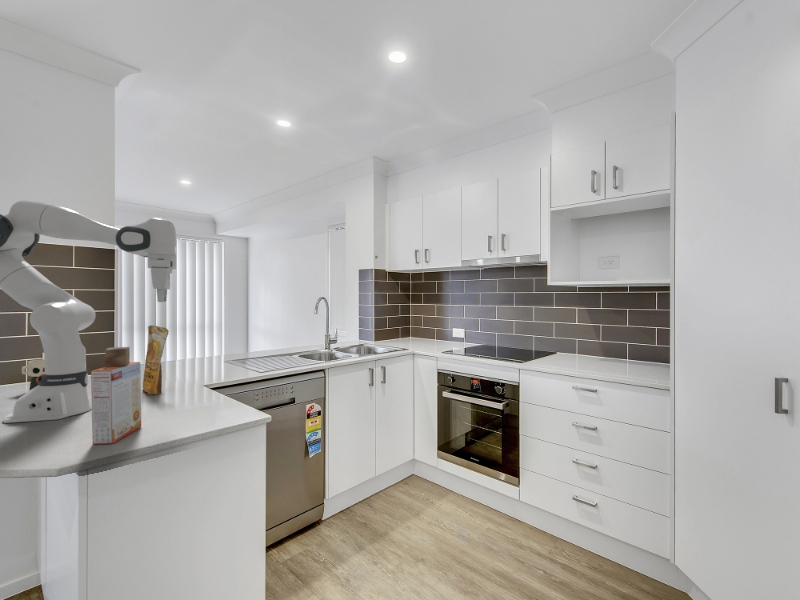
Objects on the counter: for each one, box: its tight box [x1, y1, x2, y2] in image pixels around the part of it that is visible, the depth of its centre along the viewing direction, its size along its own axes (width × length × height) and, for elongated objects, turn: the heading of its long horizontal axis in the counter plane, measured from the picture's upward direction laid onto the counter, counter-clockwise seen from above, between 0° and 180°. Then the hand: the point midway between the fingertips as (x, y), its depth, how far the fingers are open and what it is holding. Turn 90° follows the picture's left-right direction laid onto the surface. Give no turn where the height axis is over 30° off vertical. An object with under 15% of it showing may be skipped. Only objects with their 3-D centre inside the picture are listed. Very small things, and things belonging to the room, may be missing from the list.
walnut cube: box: [104, 346, 131, 367], centre depth 114 cm, size 5×5×5 cm
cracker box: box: [90, 361, 142, 445], centre depth 114 cm, size 14×6×21 cm, turn 5°
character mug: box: [21, 359, 45, 391], centre depth 166 cm, size 11×7×13 cm, turn 143°
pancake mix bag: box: [142, 325, 169, 395], centre depth 167 cm, size 7×19×28 cm, turn 46°
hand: (162, 301), depth 140 cm, fingers open, 8 cm apart
